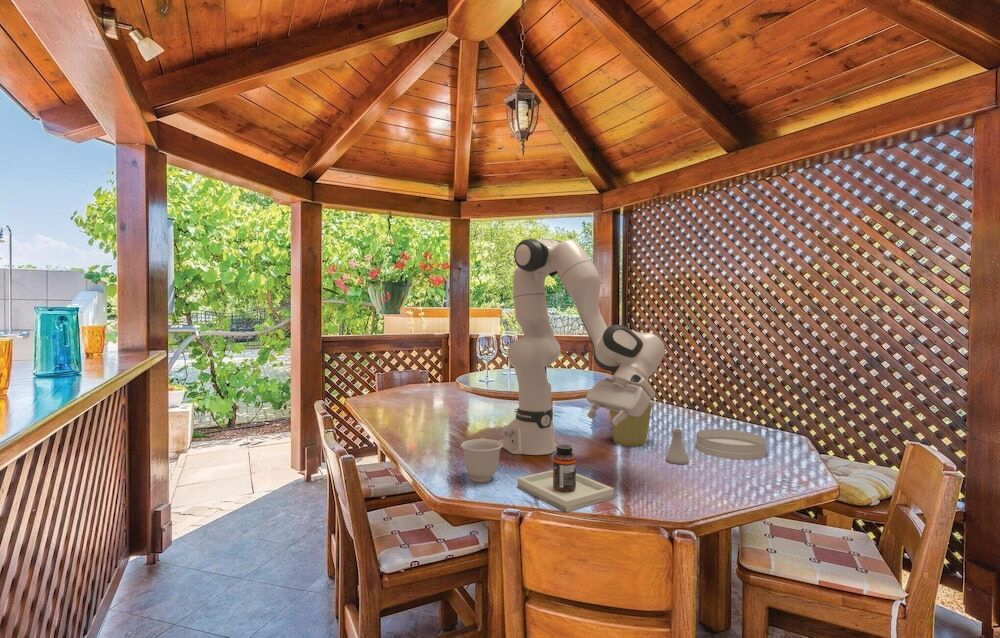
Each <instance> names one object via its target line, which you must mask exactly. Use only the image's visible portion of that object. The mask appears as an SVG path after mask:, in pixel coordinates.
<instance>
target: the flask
mask: <svg viewBox="0 0 1000 638" xmlns="http://www.w3.org/2000/svg"><path fill="white" fill-rule="evenodd" d="M671 431H672V440H671V444H670V446H669V448H668V451H667V454H666V456H665V459H664V461H665V462H667V463H669V464H677V465H687V464H689V462H690V460H689V458H688V454H687V452H686V451H687V450H686V449H685V446H684V442H683V434H682V433H683V431H684V430H682V429H679V428H673V429H671Z"/></svg>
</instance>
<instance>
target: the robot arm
mask: <svg viewBox="0 0 1000 638" xmlns="http://www.w3.org/2000/svg"><path fill="white" fill-rule="evenodd" d="M513 255H514V256H513V257H514V258H513V259H514V262H515V264H516V266H517V267H516V268H515V269H514V271H513V281H512V284H513V285H512V289H513V290H512V291H513V304H514V315H515V320H516V322H517V323H518V325H519V326H520V328H521V331H522V333H523V336H524V337H520V338H518V339H516V340H514V341H513V342H511V344H510V345H509V347H508V351H507V359H508V361H509V363H510V365H511V366H512V368H513V369H514V371H515V375H516V376H515V377H516V378H517V384H518V408H514V409H513V410H515V411H514V413H515V418H514V419H513V420H512V421H511V422H510V423H509V424H507V425H506V426H505V427H504V430H503V438H499V439H498V440H497V441H499V442H501V443H502V444H503V446H502V447H501V448H503V449H505V450H506V451H508V452H509V453H511V454H512V455H526V456H527V455H529V456H544V455H550V454H552V453H555V452H557V446H558V444H557V442H556V440H555V439H556V437H555V428H554V423H553V422H552V420H553V417H554V415H553V413H554V412H553V408H552V386H551V383H550V382H549V380H548V378H547V374H546V367H548V366H550V365H552V364H554V363H555V362H556V361H557V360H558V359H559V357H560V356H561V344H560V343H559V341H558V340H557V339H556V337H555V335H554V331H553V328H552V325H551V322H550V318H549V313H548V312H549V310H548V303H547V294H546V284H545V283H546V278H547V276H550V277H554V276H555V275H557V274H558V276H559V278H560V280H561V282H562V284H563V285H564V288H565V289H566V291H567V293H568V295H569V297H570V298H571V301H572V303H573V304H574V306H575V309H576V310H577V312H578V315H579V318H580V320H581V322H582V324H583V326H584V328H585V330H586V333H587V336H588V337H589V340H590V342H591V344H592V350H593V351H592V355H593V360H594V362H595V363H596V365H597V366H598V367H599V368H600V369H602V370H604V371H607V372H614V373H613V375H612V376H611V378H609V377H608V378H607V377H606V378H604V379H601V380H599V381H597V382H596V383H595V384H594V385H593V387H592V388H591V389H590V390H589V391H588V392H587V394H586V397H585V398H586V400H587V402H588V403H589V404H590V408H589V411H588V413H587V417H588V418H589V419H592V420H594V419H595V418H596V416H598V415H597V410H599V408H601V409H604V410H605V409H606V410H609V411H610V410H613V411H616V412H620V413H619V414H618V415H616V416H615V417H614V416H613V417H612V419H611V418H610V420H609V423H610V424H611V426H612V425H615V426H617V425H618V424H619V422H620V421H622V420H624V419H625V418H627V416H628V415H632V416H635V417H639V416H640V415H642V414H643V413H644V411H645V410H646V408H647V407H648V405H649V403H650V401H651V402H652V399H653V398H654V397H655V395H656V392H655V389H653V387H652V385H650V383H649V380H650V379H649V378H650V376H651V375H652V374H654V373H655V372H656V371H657V369H658V367H659V365H660V364H661V362H662V360H663V358H664V355H665V354H666V346H665V343H664V342H663V340H662V339H660V337H659V336H657V335H656V334H654V333H651V332H639V331H635V330H633V329H630V328H628V327H627V326H625V325H622V324H613V325H610V326H607V324H606V321H605V319H604V318H603V316H602V314H601V310H600V293H601V285H602V283H601V278H600V275H599V272H598V270H597V268H596V265H595V264H594V263H593V261H592V259H591V258H590V256H589V254H588V253H587V251H585V249H584V247H582V245H581V244H580V243H579V242H577V241H576V240H574V239H564V240H555V239H550V238H536V239H535V238H526V239H523V240H521V241H520V242H518V244H517V245H516V246H515V248H514V254H513Z"/></svg>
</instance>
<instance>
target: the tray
mask: <svg viewBox="0 0 1000 638" xmlns="http://www.w3.org/2000/svg"><path fill="white" fill-rule="evenodd" d="M517 488H518V489H520V490H523V491H524V492H526V493H529V494H530V495H532V496H534V497H536V498H539V499H540V500H542V501H544V502H546V503H548V504H550V505H552V506H554V507H556V508H558V509H559V510H561V511H564V512H566V513H568V512H571V511H575V510H577V509H581V508H585V507H588V506H591V505H592V506H593V505H594V504H599V503H601V502H606V501H609V500H612V499H615V488H614V487H612V486H609V485H606V484H604V483H601V482H599V481H596V480H594V479H592V478H589V477H586V476H585V475H582V474H580V473H577V472H576V488H575V490H573V491H571V492H561V491H557V490H556V489H554V487H553V469H552V470H546V471H543V472H538V473H533V474H529V475H524V476H520V477H517Z"/></svg>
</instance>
